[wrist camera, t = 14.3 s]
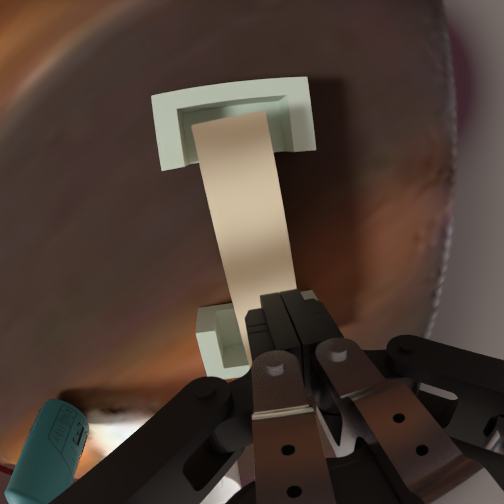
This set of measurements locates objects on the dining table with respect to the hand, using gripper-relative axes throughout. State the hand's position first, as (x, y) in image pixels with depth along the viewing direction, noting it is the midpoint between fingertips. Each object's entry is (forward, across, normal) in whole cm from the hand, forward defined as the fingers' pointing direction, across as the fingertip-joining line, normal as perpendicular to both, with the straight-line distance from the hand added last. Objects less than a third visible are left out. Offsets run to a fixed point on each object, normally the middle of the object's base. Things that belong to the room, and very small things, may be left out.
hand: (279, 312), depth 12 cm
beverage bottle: (+14, +24, +18) cm, 33 cm away
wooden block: (+12, 0, +1) cm, 13 cm away
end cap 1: (+14, 0, -8) cm, 16 cm away
